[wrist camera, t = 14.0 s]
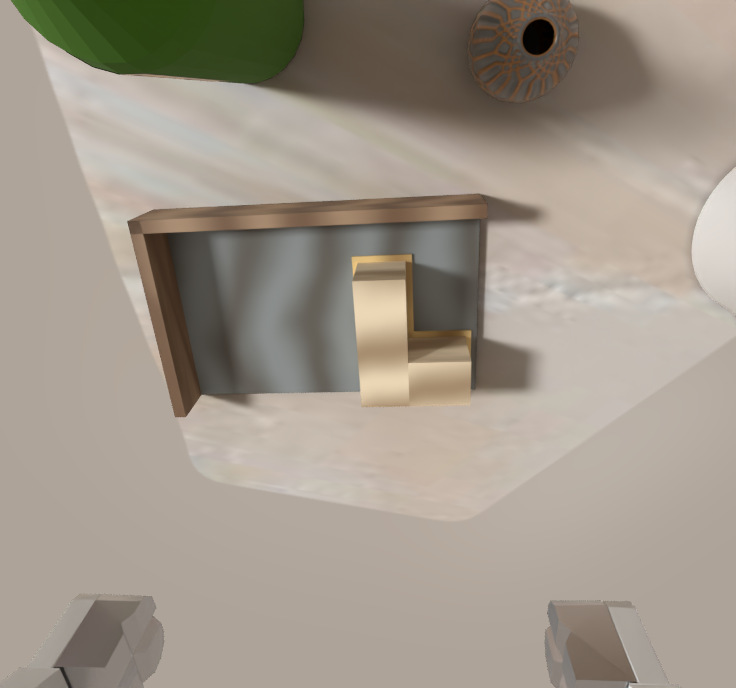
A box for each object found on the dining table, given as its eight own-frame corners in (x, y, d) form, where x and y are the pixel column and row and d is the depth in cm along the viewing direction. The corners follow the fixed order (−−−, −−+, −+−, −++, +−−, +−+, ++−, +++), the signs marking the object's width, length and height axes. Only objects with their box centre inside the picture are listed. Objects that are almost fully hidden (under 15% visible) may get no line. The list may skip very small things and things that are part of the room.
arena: (479, 193, 43) (487, 204, 39) (474, 386, 50) (480, 412, 46) (153, 209, 45) (127, 221, 41) (193, 391, 52) (175, 417, 48)
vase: (519, -33, 36) (550, -69, 28) (581, 48, 38) (627, 35, 30) (443, 50, 39) (452, 38, 31) (504, 122, 41) (528, 129, 33)
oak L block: (357, 262, 45) (352, 281, 40) (466, 258, 44) (473, 276, 40) (365, 378, 50) (361, 407, 45) (464, 376, 49) (470, 405, 44)
